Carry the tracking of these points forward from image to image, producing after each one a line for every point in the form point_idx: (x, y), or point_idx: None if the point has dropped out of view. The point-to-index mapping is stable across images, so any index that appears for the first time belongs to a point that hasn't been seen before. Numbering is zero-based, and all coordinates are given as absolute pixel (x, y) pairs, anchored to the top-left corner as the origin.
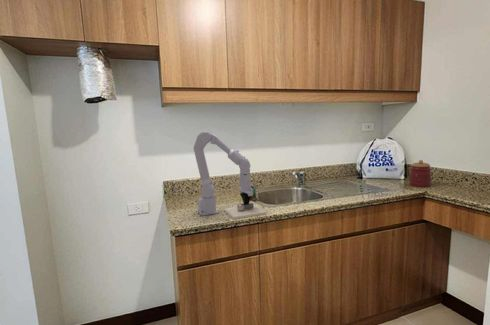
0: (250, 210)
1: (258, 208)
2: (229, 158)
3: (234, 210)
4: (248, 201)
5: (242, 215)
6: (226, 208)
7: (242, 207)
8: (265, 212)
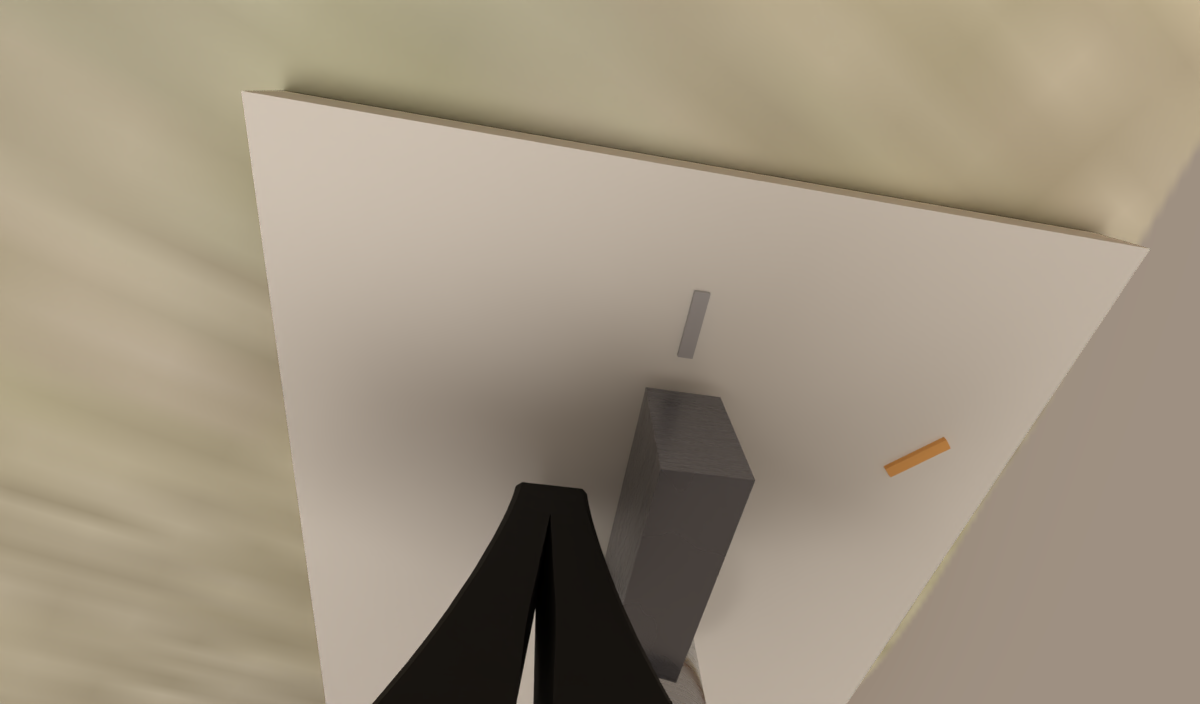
0: None
1: (752, 247)
2: None
3: (528, 660)
4: (596, 610)
5: (858, 667)
6: (336, 701)
7: (702, 686)
8: (1125, 264)
